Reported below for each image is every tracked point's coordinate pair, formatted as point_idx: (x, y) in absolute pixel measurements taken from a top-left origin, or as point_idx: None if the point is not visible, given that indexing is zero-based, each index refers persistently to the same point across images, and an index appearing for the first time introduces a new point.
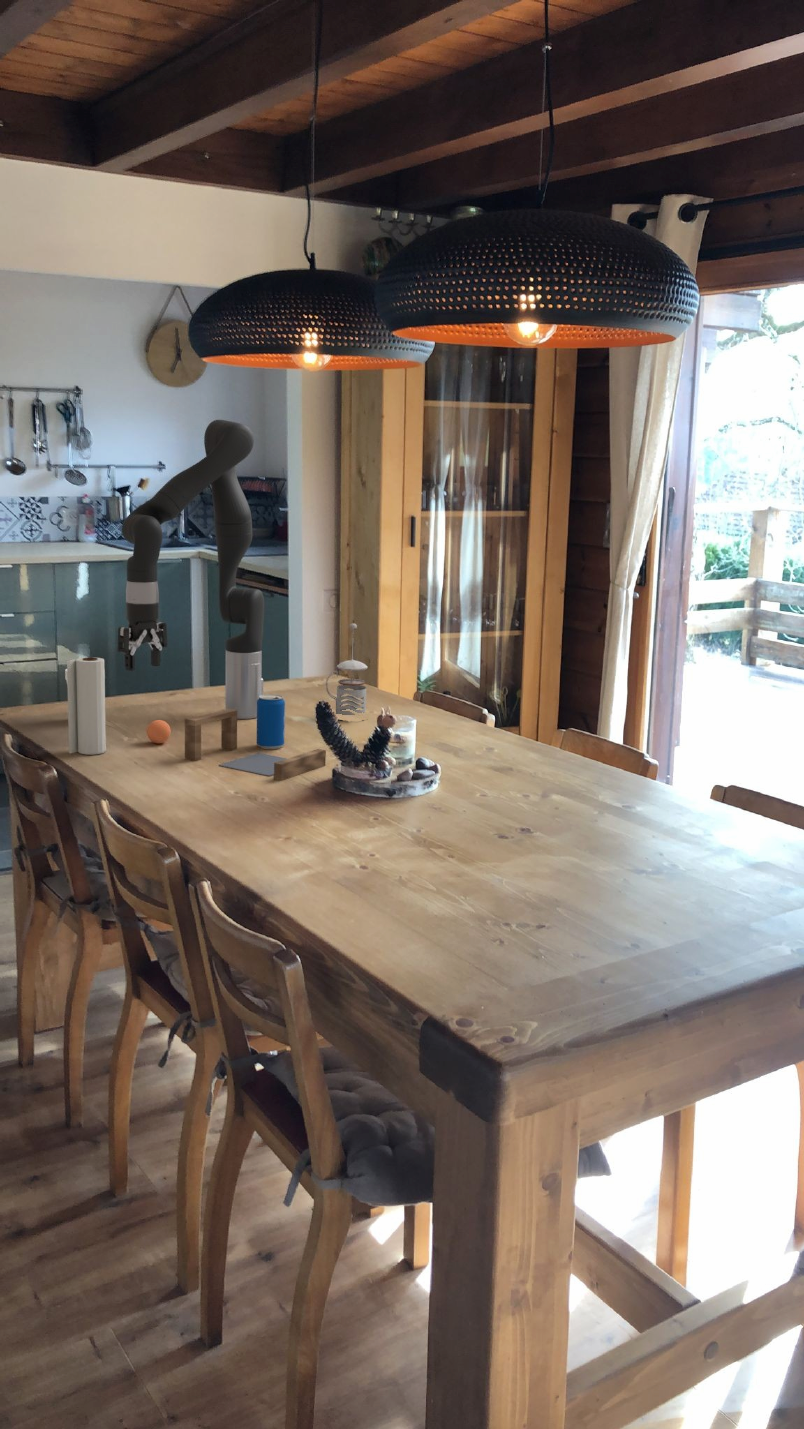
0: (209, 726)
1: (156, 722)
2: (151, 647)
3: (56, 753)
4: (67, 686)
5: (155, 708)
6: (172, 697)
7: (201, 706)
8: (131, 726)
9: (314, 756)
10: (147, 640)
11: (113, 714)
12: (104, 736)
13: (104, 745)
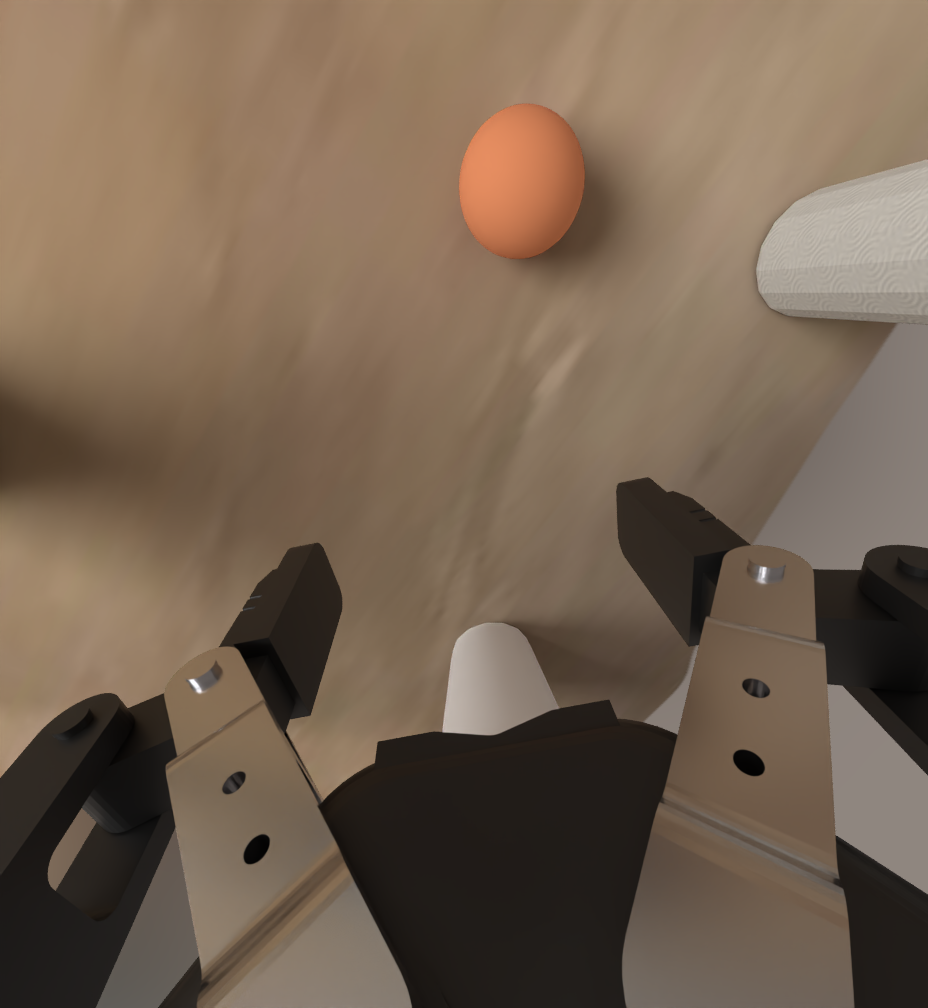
0: (141, 339)
1: (559, 155)
2: (293, 747)
3: (888, 333)
4: None
5: None
6: None
7: (46, 631)
8: (423, 522)
9: None
10: (463, 769)
11: (378, 673)
12: (860, 182)
13: (823, 192)
